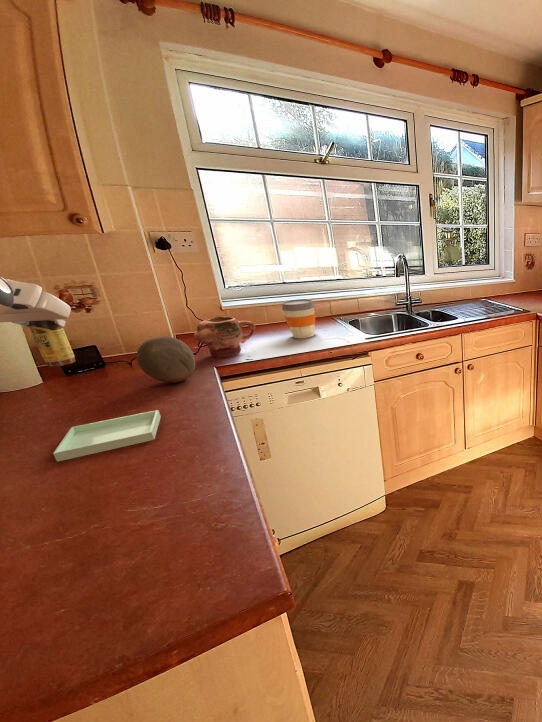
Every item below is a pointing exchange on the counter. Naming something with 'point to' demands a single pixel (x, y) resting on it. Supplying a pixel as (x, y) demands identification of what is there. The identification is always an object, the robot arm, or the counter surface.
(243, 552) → the counter surface
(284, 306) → the reusable coffee cup
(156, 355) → the cantaloupe
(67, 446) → the plastic tray
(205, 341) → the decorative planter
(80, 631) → the counter surface
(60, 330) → the sauce bottle
